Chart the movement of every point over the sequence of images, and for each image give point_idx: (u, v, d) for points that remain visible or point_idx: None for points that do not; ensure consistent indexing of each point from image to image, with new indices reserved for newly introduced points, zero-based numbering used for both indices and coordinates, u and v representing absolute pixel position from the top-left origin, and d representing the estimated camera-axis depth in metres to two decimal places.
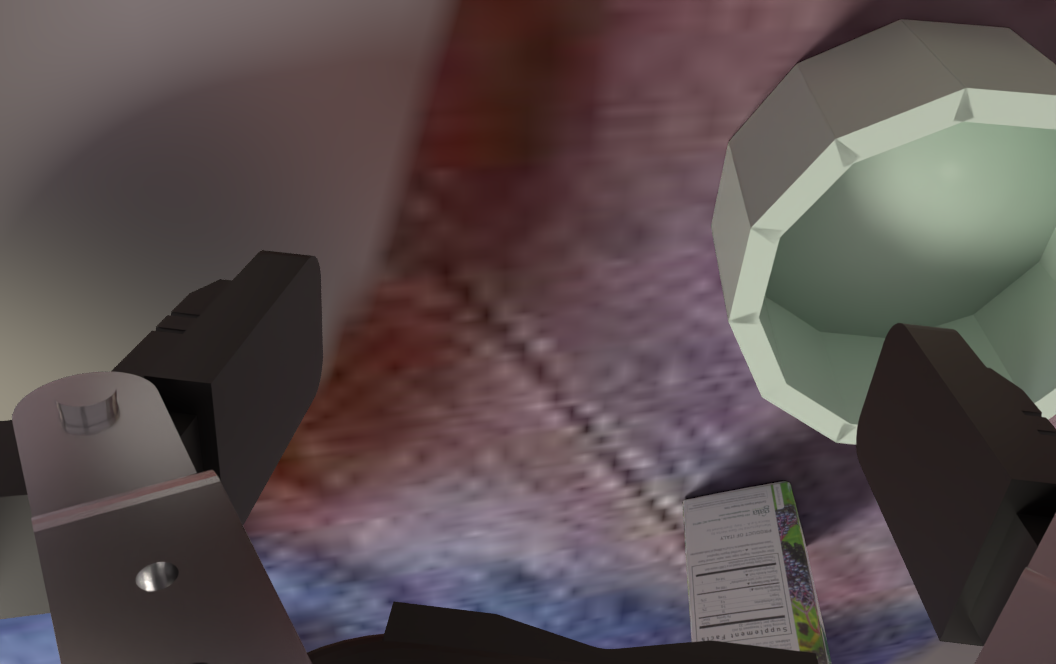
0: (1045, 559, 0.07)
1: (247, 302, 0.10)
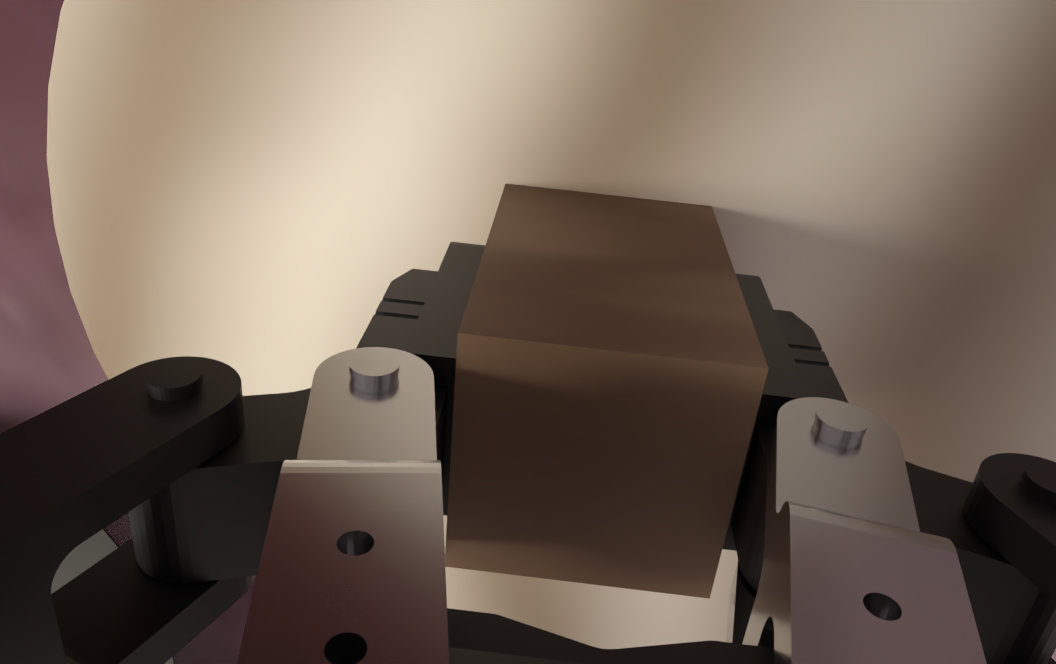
0: (786, 482, 0.08)
1: (462, 288, 0.11)
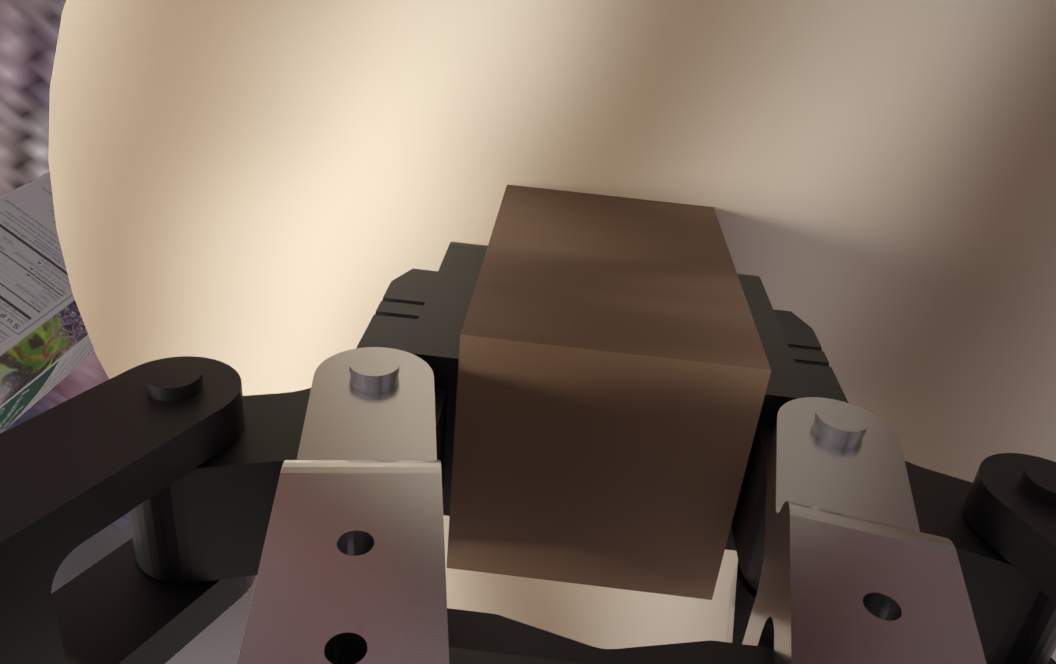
0: (786, 482, 0.08)
1: (462, 288, 0.11)
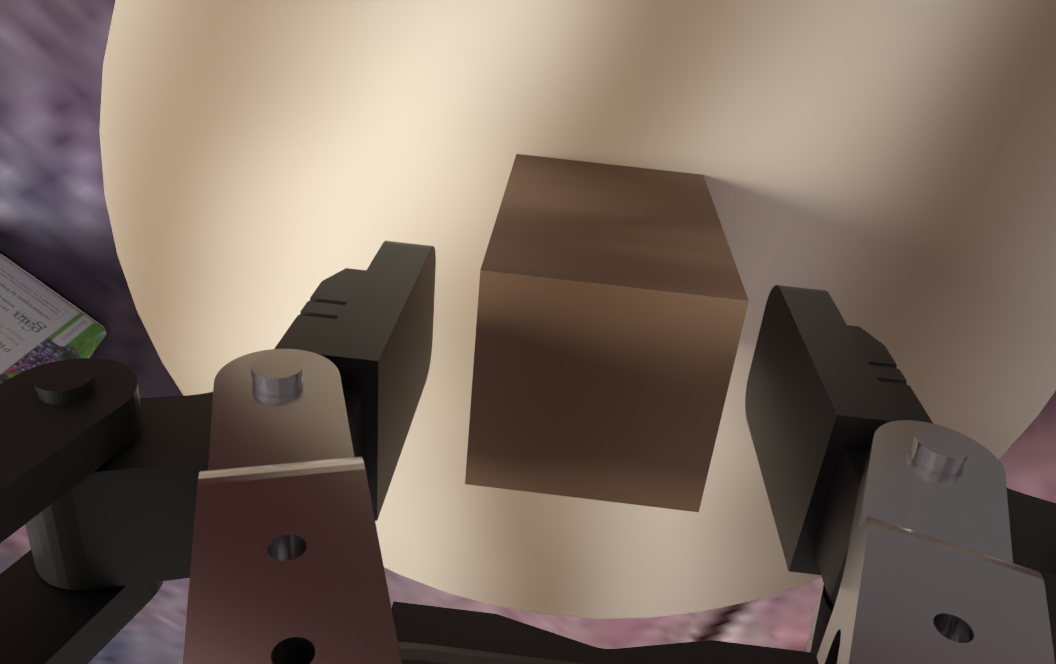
0: (874, 500, 0.07)
1: (387, 288, 0.11)
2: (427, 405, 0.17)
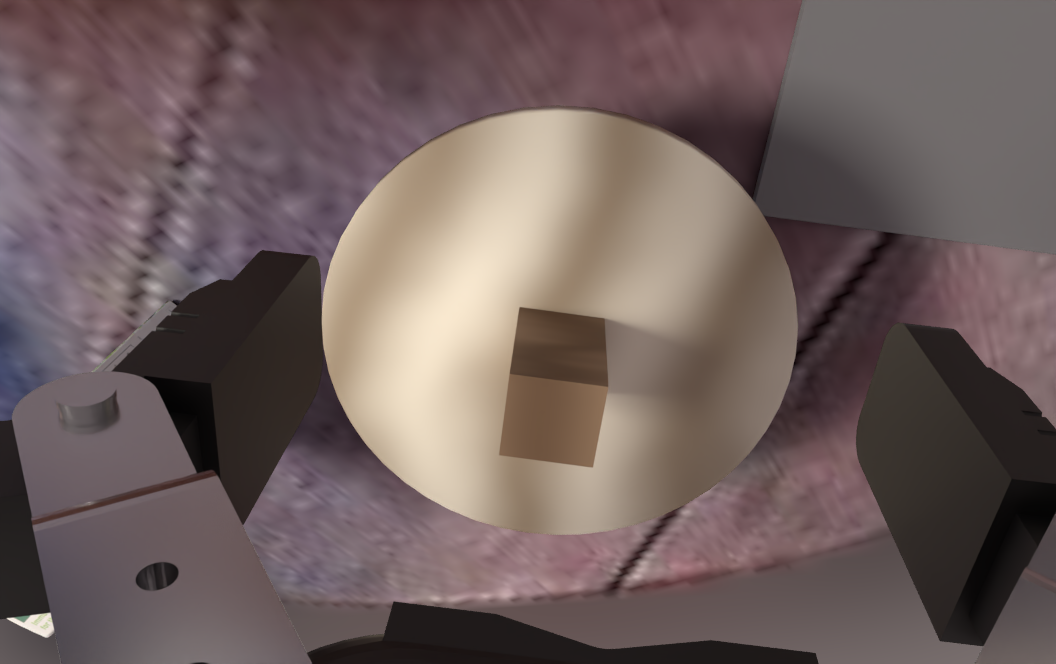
0: (1045, 558, 0.07)
1: (247, 302, 0.10)
2: (470, 420, 0.34)
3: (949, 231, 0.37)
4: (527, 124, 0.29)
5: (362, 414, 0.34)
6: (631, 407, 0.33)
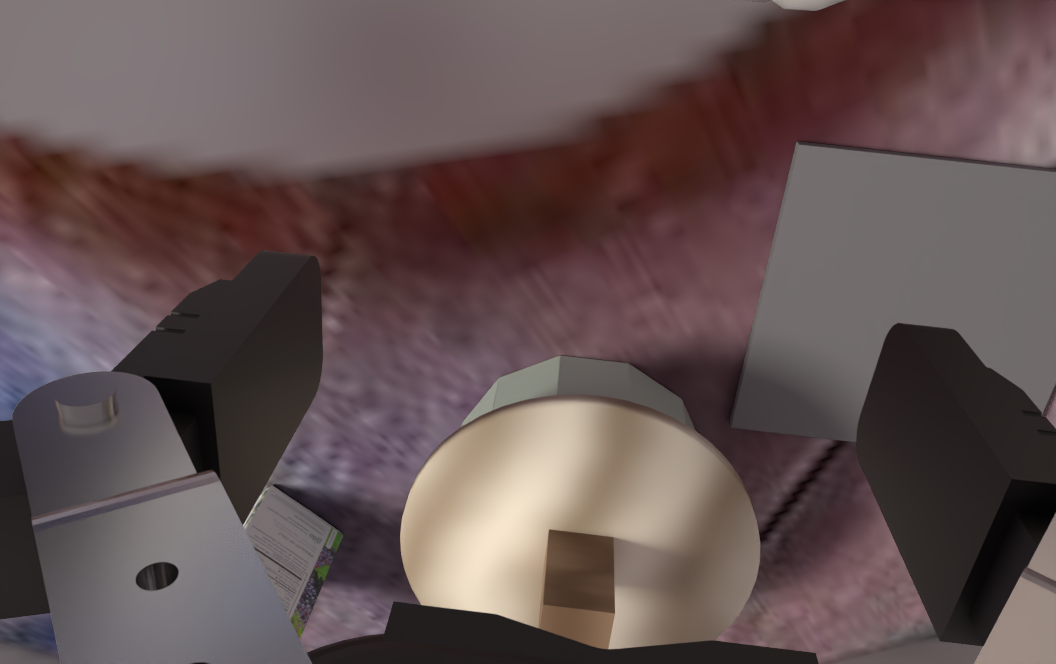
0: (1045, 559, 0.07)
1: (247, 302, 0.10)
2: (513, 604, 0.45)
3: None
4: (552, 413, 0.39)
5: (430, 599, 0.45)
6: (635, 596, 0.44)
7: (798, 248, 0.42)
